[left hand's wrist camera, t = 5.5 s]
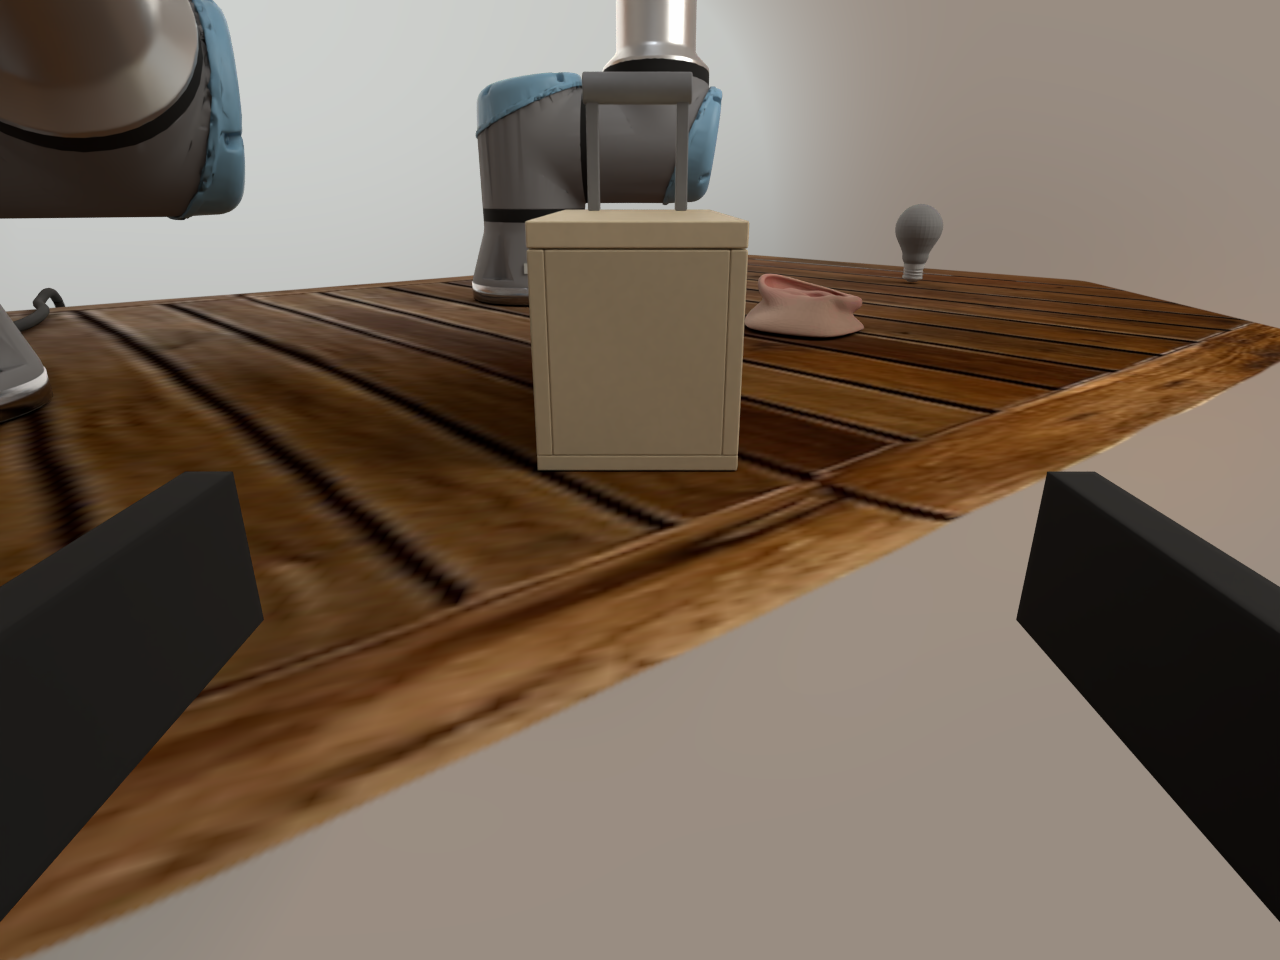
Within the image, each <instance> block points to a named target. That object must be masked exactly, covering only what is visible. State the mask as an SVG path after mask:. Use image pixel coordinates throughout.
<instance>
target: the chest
mask: <svg viewBox="0 0 1280 960" xmlns="http://www.w3.org/2000/svg"><path fill="white" fill-rule="evenodd" d="M747 259H748V251H747V250H746V249H744V248H530V249H528V250H527V271H528V290H529V309H530V329H531V348H532V367H533V386H534V406H535V425H536V444H537V455H538V456H537V464H538V470H737V459H738V456H737V454H738V438H739V418H740V399H741V379H742V359H743V339H744V319H745V299H746V279H747Z"/></svg>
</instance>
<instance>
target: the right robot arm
mask: <svg viewBox="0 0 1280 960" xmlns="http://www.w3.org/2000/svg"><path fill="white" fill-rule="evenodd" d="M696 1H697V0H616V54H615V56H614V57H613V58H612V59H611V60H610V61H609V62H608V63H607V64H606V65H605V66H604V68H603V72H692V74H693V94H692V103H691V104H690V105H689V137H688V183H687V202H693V201H697V200H699V199H700V198H701V197H703V195H704V194H705V193H706V191H707V188H708V184H709V180H710V175H711V170H712V164H713V158H714V152H715V146H716V139H717V133H718V126H719V119H720V111H721V99H722V91H721V90H720V89H717V88H716V87H710V88H709V69H708V67H707V66H706V64H705V63H704V62H703V61H702V60H701V59H700V58H699V57H698V56H697V54H696V52H695V50H696ZM598 107H599V164H600V203H663V205H667V204H668V203H675V167H676V105H598ZM476 138H477V139H478V150H479V163H480V176H481V189H482V202H483V214H484V234H483V239H482V243H481V247H480V251H479V255H478V260H477V264H476V268H475V273H474V277H473V281H472V285H473V297H474V299H476V300H479V301H482V302H488V303H496V304H510V305H529V290H528V271H527V250H528V249H530V248H527V247H526V232H525V222H526V221H528V220H532V219H535V218H538V217H542V216H545V215H549V214H552V213H556V212H559V211H563V210H585V204H586V203H588V182H587V138H586V105H585V104H584V103H583V96H582V79H581V77H580V76H579V75H578V74H575V73H569V72H561V73H541V74H532V75H525V76H520V77H515V78H510V79H505V80H501V81H498V82H495V83H493V84H491V85H489V86H487V87H485V88H484V89H483V90H482V91H481V93H480V94H479V96H478V99H477V131H476Z"/></svg>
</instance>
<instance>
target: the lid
mask: <svg viewBox="0 0 1280 960" xmlns="http://www.w3.org/2000/svg"><path fill="white" fill-rule="evenodd" d="M692 94H693V74H692V72H583V73H582V96H583V103H584V104H585V105H586V138H587V182H588V210H563V211H559V212H556V213H552V214H549V215H545V216H542V217H538V218H535V219H532V220H528V221H526V222H525V232H526V247H527V248H748V239H749V222H748V221H746V220H743V219H739V218H736V217H733V216H729V215H726V214H722V213H719V212H716V211H712V210H687V183H688V137H689V105H690V104H691V103H692ZM598 105H676V167H675V210H600V164H599V107H598Z"/></svg>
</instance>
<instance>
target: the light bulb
mask: <svg viewBox="0 0 1280 960" xmlns="http://www.w3.org/2000/svg"><path fill="white" fill-rule="evenodd" d="M942 230H943V221H942V218H941V216H940V214H939V213H938V211H937V210H936V209H935V208H933V207H932V206H929V205H925V204H918V205H914V206H912V207H909V208H908V209H907V210H905V211H904V212H903V213H902V215H901V216H900V217H899V219H898V221H897V223H896V237H897V240H898V242H899V244H900V247H901V250H902V253H903V256H902V257H903V262H904V268H905V269H903V270H905V272H903V273H904V275H903V277H902V278H904V279H905V280H907V281H909V282H917V281H918V280H920V279H922V278H923V277H922V275H923V274H922V272H923V271H922V269H924V265H925V263H926V261H927V259H928V256H929V253H930V251H931V249H932V248H933V246H934V245H935V244H936V242H937V241H938V239H939V238H940V235H941V233H942Z"/></svg>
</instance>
